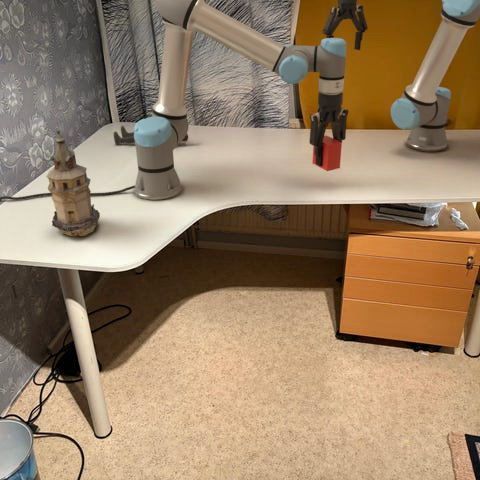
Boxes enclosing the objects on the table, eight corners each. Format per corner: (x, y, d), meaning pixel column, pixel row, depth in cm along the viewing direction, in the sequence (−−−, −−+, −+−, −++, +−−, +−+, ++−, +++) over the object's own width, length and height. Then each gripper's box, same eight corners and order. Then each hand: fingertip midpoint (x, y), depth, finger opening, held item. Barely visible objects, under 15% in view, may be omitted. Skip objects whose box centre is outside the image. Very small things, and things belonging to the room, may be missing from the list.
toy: (129, 119, 231) (196, 119, 225) (131, 133, 234) (197, 134, 228) (104, 139, 209) (177, 139, 203) (107, 154, 212) (179, 155, 206)
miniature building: (80, 214, 164) (63, 117, 149) (111, 225, 157) (96, 125, 142) (44, 231, 154) (22, 130, 140) (75, 244, 147) (55, 139, 133)
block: (327, 171, 172) (328, 145, 168) (312, 163, 179) (313, 138, 174) (339, 168, 174) (341, 142, 170) (324, 160, 181) (326, 135, 176)
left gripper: (313, 98, 158) (309, 172, 169) (361, 90, 165) (355, 161, 177) (299, 93, 164) (296, 164, 175) (346, 85, 171) (341, 154, 183)
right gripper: (327, -5, 193) (323, 56, 204) (380, -9, 204) (374, 49, 214) (315, -7, 199) (312, 53, 209) (367, -11, 209) (362, 46, 220)
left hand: (326, 163), depth 176 cm, fingers closed on block, 5 cm apart
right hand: (343, 51), depth 212 cm, fingers open, 13 cm apart
